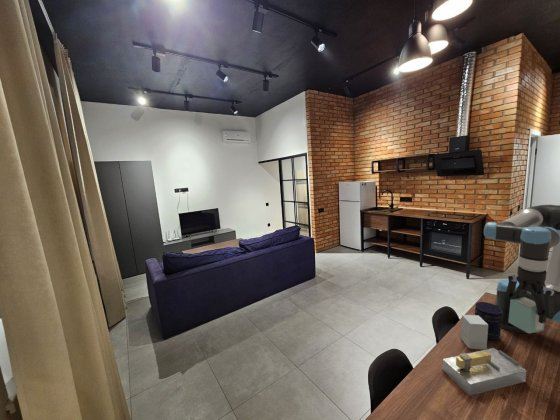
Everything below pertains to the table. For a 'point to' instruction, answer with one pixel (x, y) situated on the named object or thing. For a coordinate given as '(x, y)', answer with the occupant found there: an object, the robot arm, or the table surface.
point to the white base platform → (486, 373)
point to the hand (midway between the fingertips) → (525, 322)
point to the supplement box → (474, 331)
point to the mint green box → (523, 314)
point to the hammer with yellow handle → (472, 360)
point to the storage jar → (490, 319)
